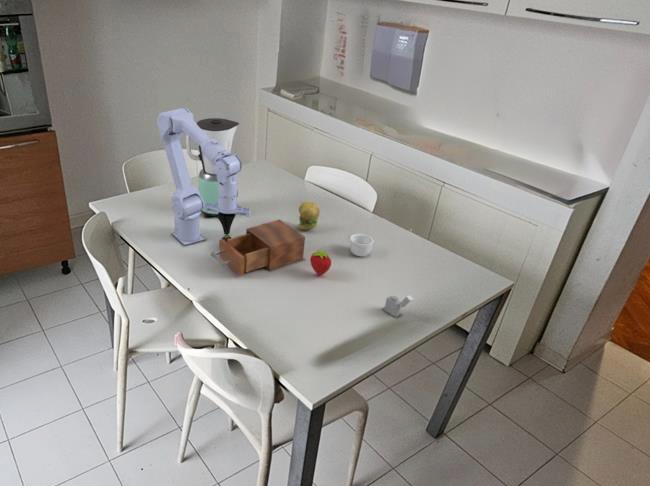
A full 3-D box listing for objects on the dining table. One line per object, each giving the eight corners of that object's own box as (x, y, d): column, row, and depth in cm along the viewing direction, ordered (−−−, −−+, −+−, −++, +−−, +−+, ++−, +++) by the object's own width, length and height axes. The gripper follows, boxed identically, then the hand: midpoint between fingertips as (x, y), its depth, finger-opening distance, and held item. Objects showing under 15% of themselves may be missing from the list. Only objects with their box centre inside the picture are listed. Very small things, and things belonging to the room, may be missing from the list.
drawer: (227, 280, 161) (227, 262, 157) (206, 261, 170) (206, 243, 166) (273, 265, 169) (274, 247, 165) (251, 248, 178) (252, 230, 174)
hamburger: (310, 223, 196) (314, 194, 189) (321, 232, 190) (325, 202, 184) (293, 227, 193) (295, 197, 186) (303, 236, 187) (306, 206, 181)
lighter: (383, 309, 152) (388, 287, 147) (387, 307, 153) (392, 285, 148) (404, 322, 147) (410, 298, 143) (407, 319, 148) (413, 296, 144)
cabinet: (269, 270, 168) (270, 247, 163) (245, 251, 178) (246, 228, 173) (302, 259, 174) (305, 236, 170) (278, 241, 184) (279, 219, 179)
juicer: (233, 202, 210) (235, 114, 191) (240, 217, 199) (243, 125, 180) (186, 205, 206) (183, 116, 187) (191, 221, 195) (188, 128, 176)
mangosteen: (218, 246, 180) (218, 234, 177) (229, 243, 182) (229, 231, 179) (224, 252, 177) (224, 240, 174) (235, 249, 179) (236, 237, 176)
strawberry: (318, 284, 162) (321, 256, 157) (304, 272, 167) (307, 245, 162) (333, 279, 164) (337, 251, 159) (319, 267, 170) (322, 241, 165)
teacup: (375, 254, 178) (378, 240, 175) (360, 261, 174) (363, 247, 171) (353, 242, 184) (355, 229, 182) (338, 249, 180) (340, 235, 178)
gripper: (253, 191, 163) (251, 230, 171) (208, 186, 166) (209, 224, 173) (248, 201, 157) (246, 240, 165) (202, 195, 160) (202, 234, 168)
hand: (227, 233), depth 169 cm, fingers closed
